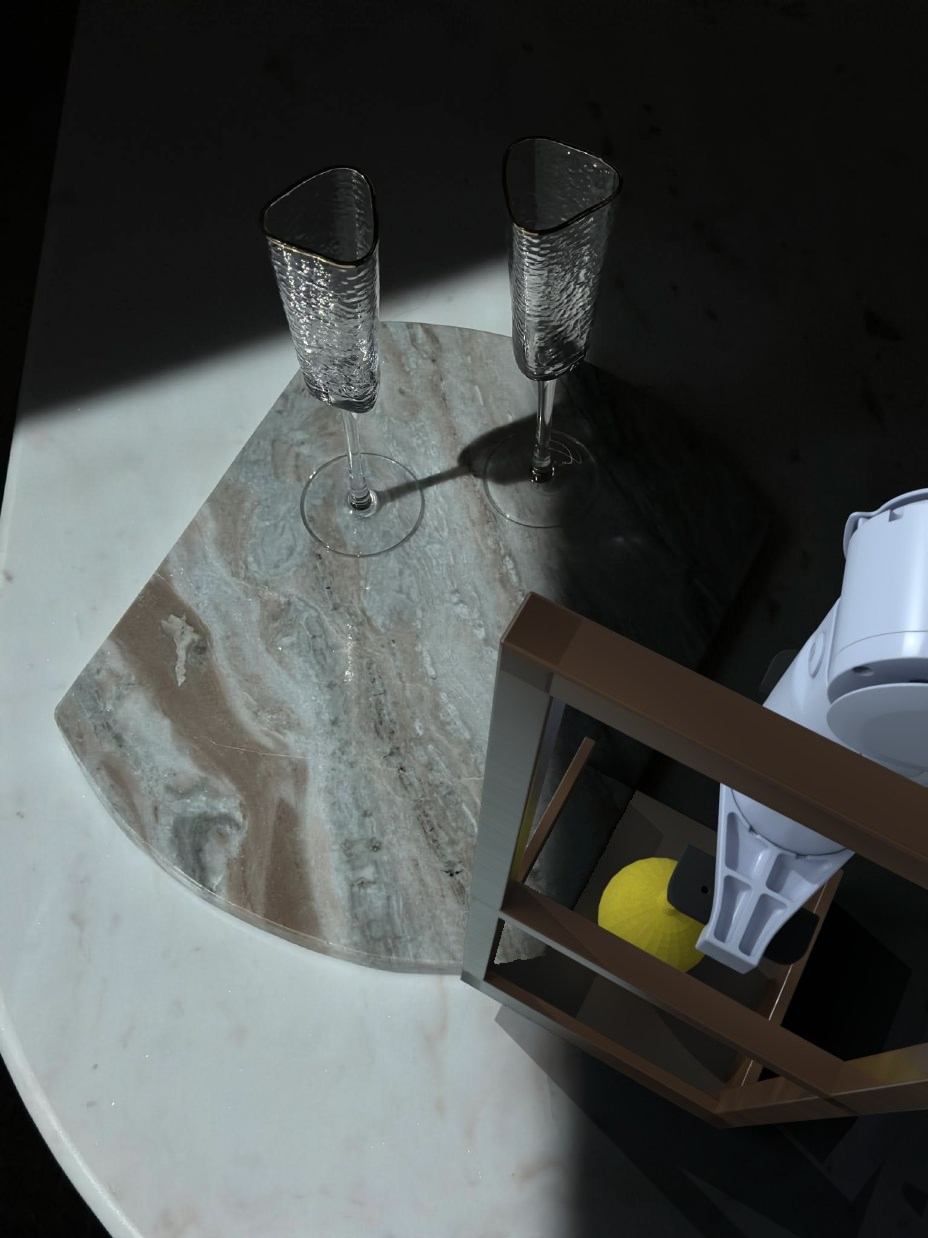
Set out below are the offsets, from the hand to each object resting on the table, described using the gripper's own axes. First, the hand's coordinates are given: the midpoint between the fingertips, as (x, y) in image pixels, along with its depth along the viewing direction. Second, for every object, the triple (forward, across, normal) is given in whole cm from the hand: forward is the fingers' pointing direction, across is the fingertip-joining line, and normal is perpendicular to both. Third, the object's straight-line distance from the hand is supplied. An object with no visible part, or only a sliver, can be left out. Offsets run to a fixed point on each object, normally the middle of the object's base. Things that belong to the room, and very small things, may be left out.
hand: (747, 840), depth 52 cm
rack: (+9, +4, -2) cm, 10 cm away
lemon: (+9, +4, -2) cm, 10 cm away
